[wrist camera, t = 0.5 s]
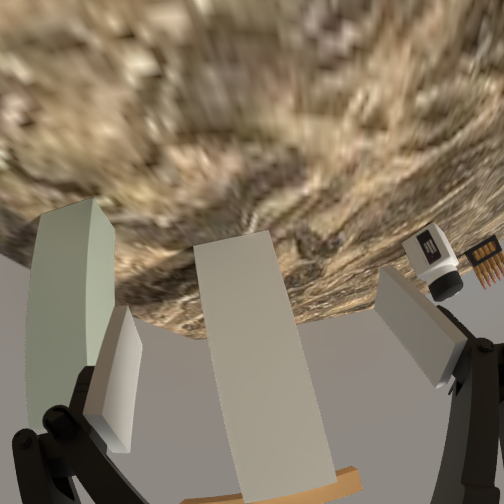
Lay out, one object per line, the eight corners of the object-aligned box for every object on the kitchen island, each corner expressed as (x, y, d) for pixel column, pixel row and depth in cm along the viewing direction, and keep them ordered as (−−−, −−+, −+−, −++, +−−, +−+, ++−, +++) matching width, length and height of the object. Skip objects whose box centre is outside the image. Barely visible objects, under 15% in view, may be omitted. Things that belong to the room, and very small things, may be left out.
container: (400, 242, 54) (427, 305, 48) (432, 220, 49) (464, 283, 43) (413, 250, 59) (438, 306, 53) (442, 230, 54) (470, 287, 48)
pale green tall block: (40, 214, 28) (29, 429, 17) (93, 197, 29) (94, 431, 18) (66, 243, 33) (67, 431, 22) (115, 229, 34) (127, 431, 23)
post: (193, 246, 40) (244, 503, 25) (268, 229, 41) (337, 481, 25) (204, 273, 47) (249, 487, 31) (268, 259, 48) (324, 470, 32)
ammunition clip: (464, 253, 71) (482, 292, 65) (465, 251, 70) (483, 290, 64) (493, 236, 67) (512, 273, 61) (494, 234, 65) (513, 272, 59)
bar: (178, 504, 26) (184, 525, 25) (357, 469, 28) (362, 490, 26) (184, 499, 29) (190, 518, 27) (351, 465, 30) (356, 485, 29)
